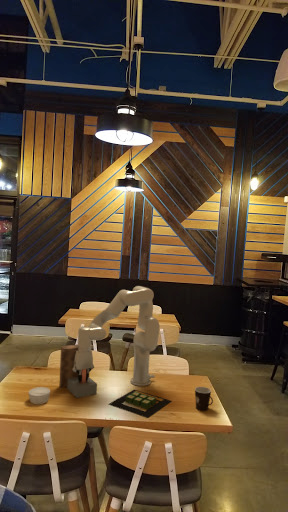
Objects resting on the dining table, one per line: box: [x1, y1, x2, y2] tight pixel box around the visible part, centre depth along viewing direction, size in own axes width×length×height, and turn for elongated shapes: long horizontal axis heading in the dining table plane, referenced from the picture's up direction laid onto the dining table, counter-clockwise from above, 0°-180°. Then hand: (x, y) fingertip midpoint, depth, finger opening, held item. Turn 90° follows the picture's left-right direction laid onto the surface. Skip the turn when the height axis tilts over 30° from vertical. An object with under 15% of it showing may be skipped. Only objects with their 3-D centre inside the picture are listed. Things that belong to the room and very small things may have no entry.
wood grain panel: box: [58, 343, 94, 389], centre depth 223 cm, size 18×6×24 cm, turn 123°
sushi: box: [107, 389, 172, 419], centre depth 205 cm, size 25×25×4 cm
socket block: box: [66, 376, 98, 399], centre depth 216 cm, size 12×14×6 cm
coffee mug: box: [194, 386, 214, 412], centre depth 200 cm, size 12×9×10 cm
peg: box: [80, 369, 86, 384], centre depth 215 cm, size 3×3×12 cm
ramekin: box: [28, 386, 51, 405], centre depth 201 cm, size 11×11×5 cm
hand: (83, 380), depth 215 cm, fingers closed on peg, 3 cm apart
